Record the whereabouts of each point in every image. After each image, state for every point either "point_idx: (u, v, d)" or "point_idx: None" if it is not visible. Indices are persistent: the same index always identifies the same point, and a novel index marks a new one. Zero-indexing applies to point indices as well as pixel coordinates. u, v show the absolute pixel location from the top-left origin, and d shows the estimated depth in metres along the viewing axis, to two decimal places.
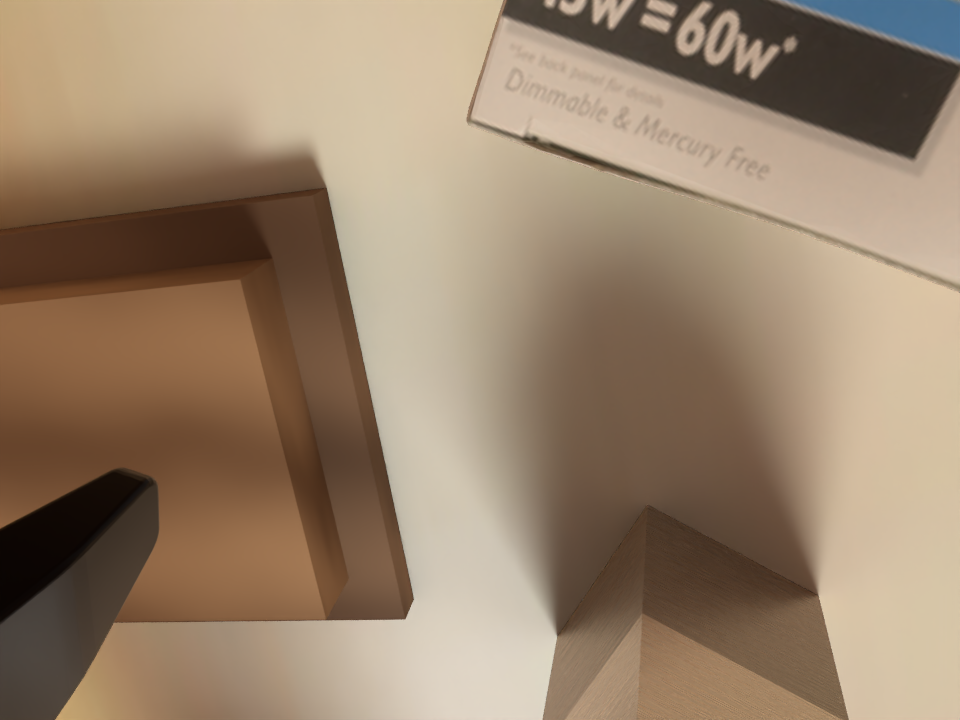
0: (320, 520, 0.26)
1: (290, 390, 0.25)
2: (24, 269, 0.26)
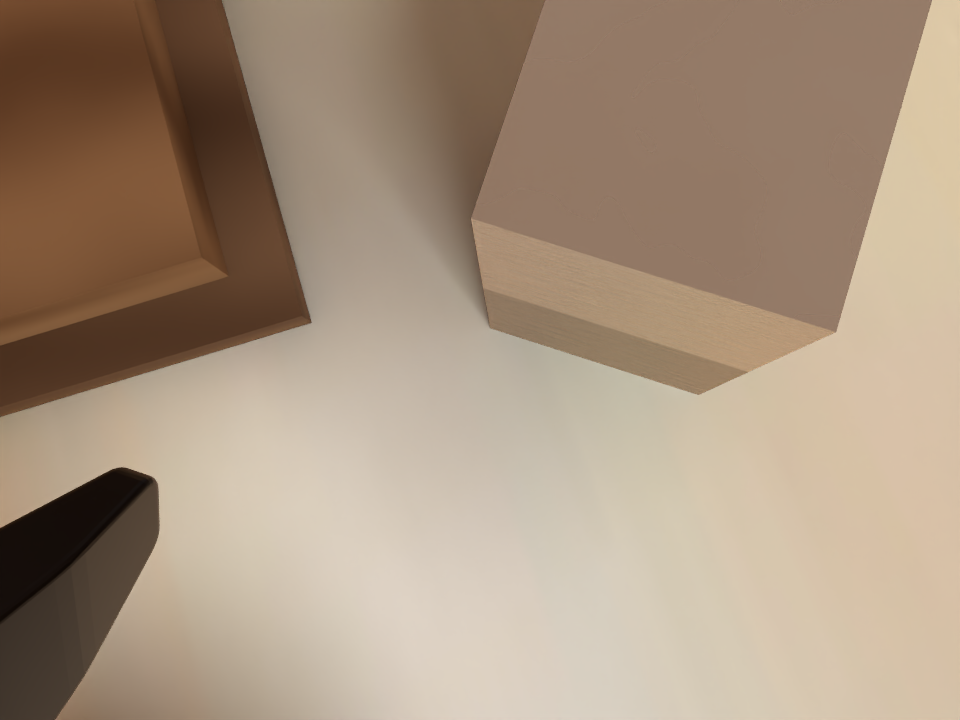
0: (190, 169, 0.22)
1: (153, 24, 0.23)
2: None
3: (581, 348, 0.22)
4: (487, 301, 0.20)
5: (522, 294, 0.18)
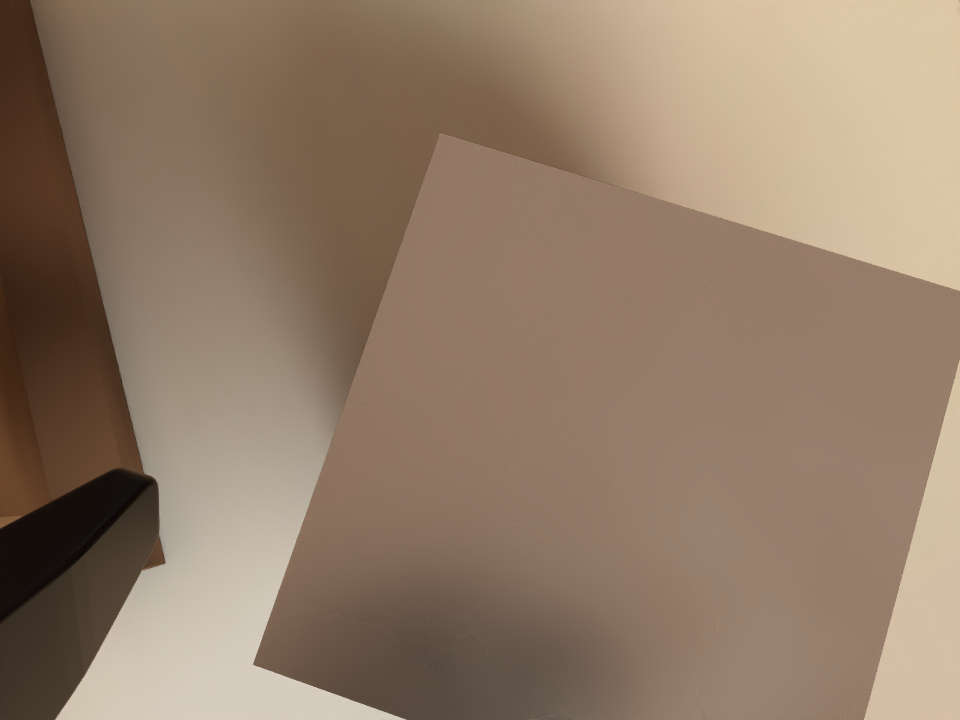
0: (1, 384, 0.17)
1: None
2: None
3: None
4: None
5: None
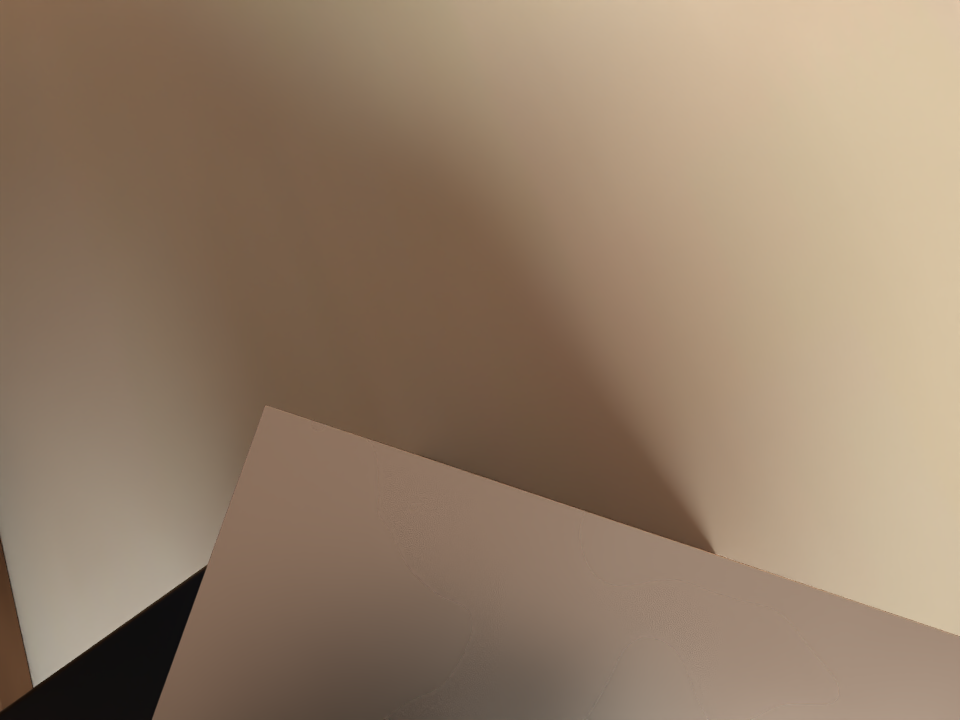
0: None
1: None
2: None
3: None
4: None
5: None
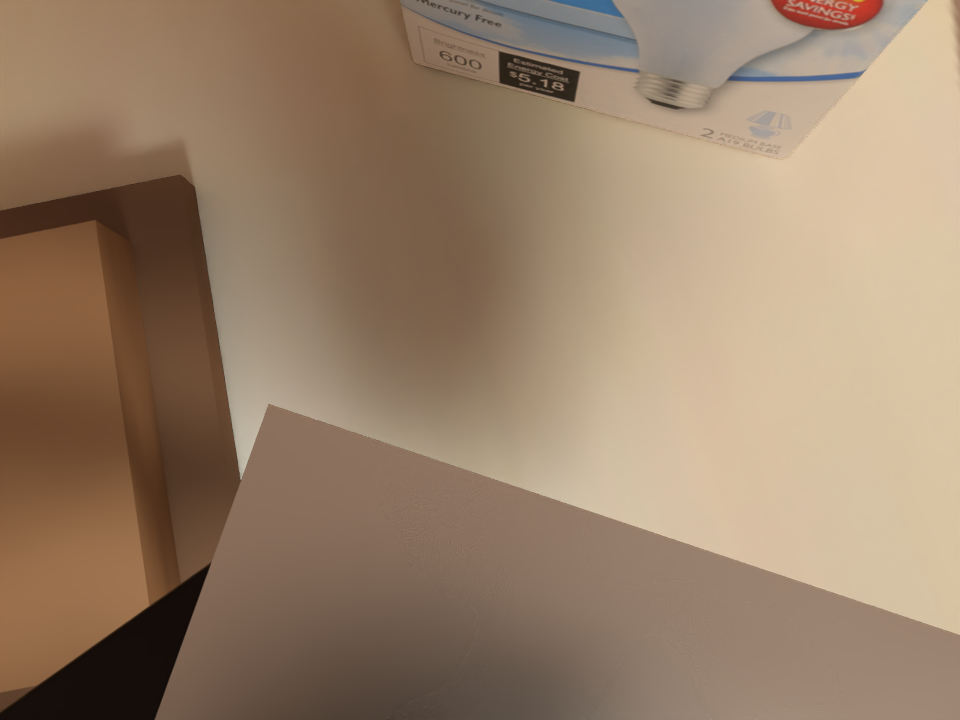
0: (159, 540, 0.21)
1: (137, 373, 0.22)
2: None
3: None
4: None
5: None
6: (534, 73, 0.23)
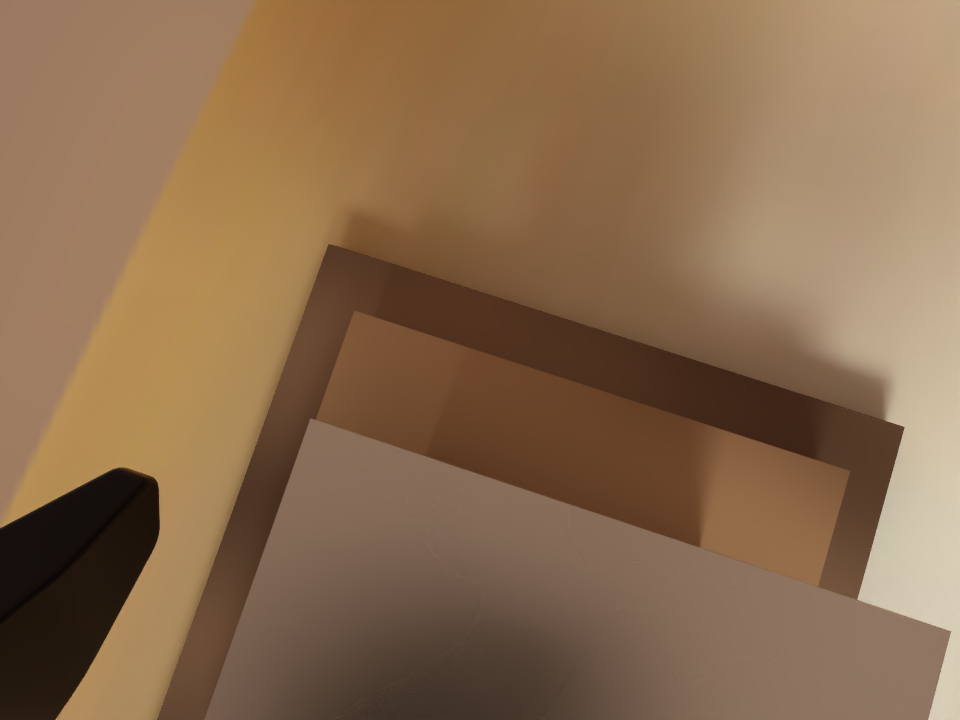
0: None
1: None
2: (483, 342, 0.20)
3: None
4: None
5: None
6: None
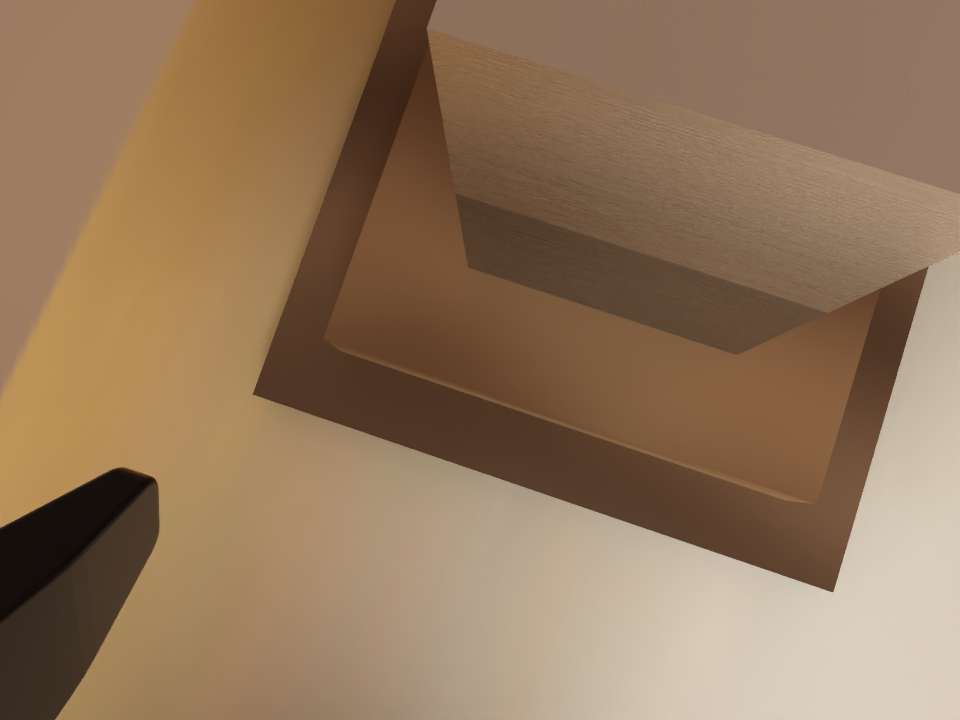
0: None
1: None
2: None
3: (587, 291, 0.17)
4: (462, 219, 0.14)
5: (510, 198, 0.12)
6: None
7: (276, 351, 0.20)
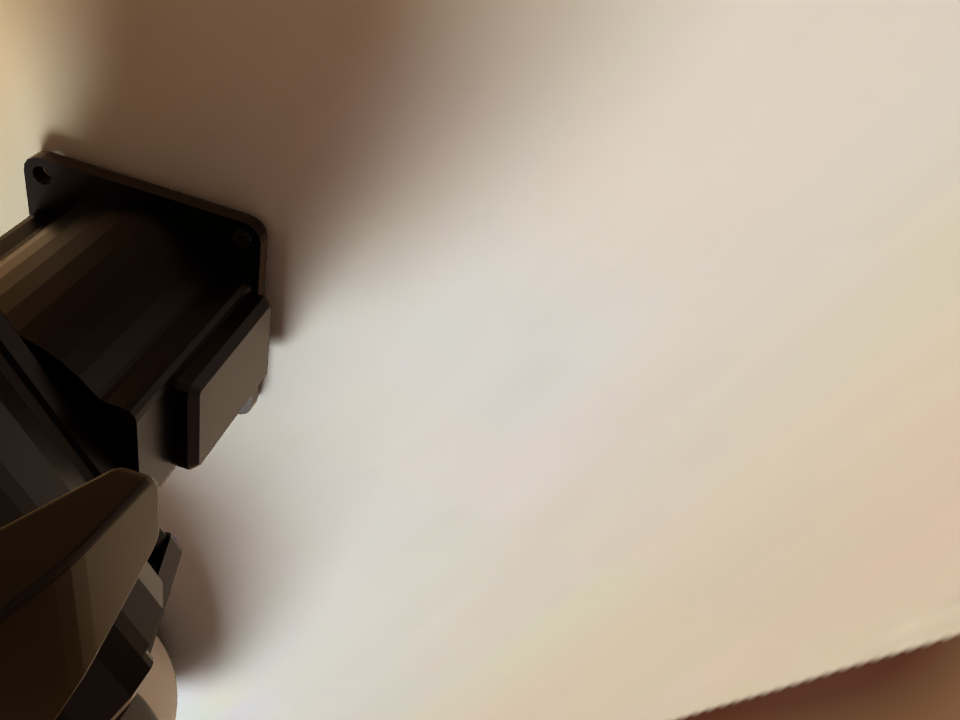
0: None
1: None
2: None
3: None
4: None
5: None
6: None
7: None
